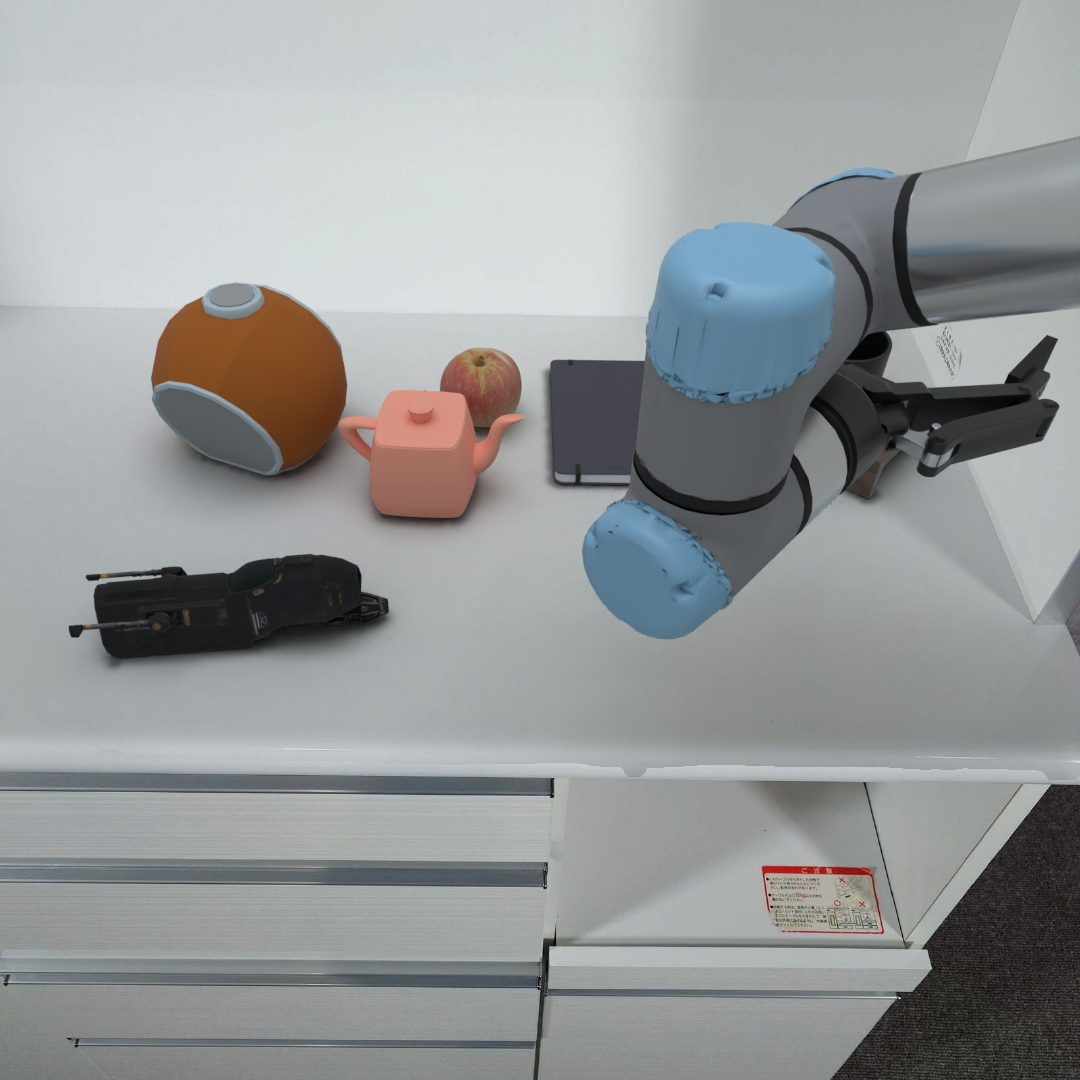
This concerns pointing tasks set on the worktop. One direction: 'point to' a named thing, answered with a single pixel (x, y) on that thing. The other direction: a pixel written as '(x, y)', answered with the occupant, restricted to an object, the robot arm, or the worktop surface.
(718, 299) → the robot arm
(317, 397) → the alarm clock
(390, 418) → the teapot
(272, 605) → the black toy vehicle
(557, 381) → the notebook
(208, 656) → the worktop surface
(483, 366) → the apple
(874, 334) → the mug
